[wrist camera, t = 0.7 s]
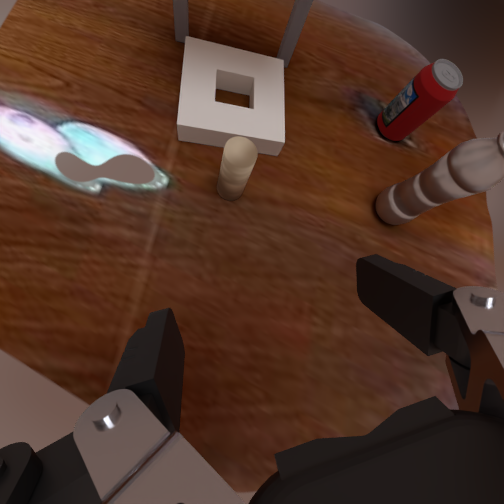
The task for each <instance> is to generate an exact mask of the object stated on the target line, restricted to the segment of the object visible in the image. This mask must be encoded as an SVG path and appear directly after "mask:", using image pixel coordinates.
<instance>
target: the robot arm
mask: <svg viewBox="0 0 504 504" xmlns="http://www.w3.org/2000/svg"><path fill="white" fill-rule="evenodd" d="M356 272H357V293H358V296H359V298H360V300H361V302H362V303H363V304H364V305H365V306H366V307H368V308H369V309H370V310H371V311H372V312H374V313H375V314H376V315H377V316H379V317H380V318H381V319H382V320H384V321H385V322H386V323H387V324H389V325H390V326H391V327H392V328H394V329H395V330H396V331H397V332H399V333H400V334H401V335H402V336H404V337H405V338H406V339H407V340H408V341H410V342H411V343H412V344H413V345H415V346H416V347H417V348H418V349H420V350H421V351H422V352H423V353H425V354H426V355H427V356H430V355H433V354H436V353H439V352H442V351H443V352H445V353H446V360H445V361H446V366H447V369H448V373H449V376H450V379H451V383H452V386H453V389H454V393H455V396H456V400H457V403H458V406H459V410H449V409H448V408H447V407H446V406H445V405H444V404H443V403H442V402H441V401H440V400H439V399H438V398H437V397H436V396H434V397H431V398H428V399H426V400H423V401H420V402H417V403H415V404H412V405H409V406H406V407H403V408H401V409H398V410H397V411H396V412H395V413H393V414H392V415H391V416H390V417H388V418H387V419H386V420H385V421H384V422H382V423H381V424H380V425H379V426H378V427H376V428H375V429H374V430H373V431H371V432H370V433H369V434H367V435H364V436H354V437H338V438H322V439H315V440H312V441H309V442H307V443H304V444H301V445H298V446H296V447H293V448H290V449H287V450H284V451H282V452H279V453H276V454H274V455H275V459H276V463H277V468H278V471H277V472H276V473H274V474H273V475H272V476H271V477H269V478H268V479H267V481H266V482H265V483H264V484H263V485H262V486H261V487H260V488H259V489H258V491H257V492H256V493H255V495H254V496H253V497H252V499H251V500H250V502H249V504H504V293H503V292H501V291H498V290H495V289H491V288H486V287H478V286H466V287H461V288H458V289H456V288H454V287H452V286H450V285H447V284H445V283H443V282H441V281H439V280H436V279H434V278H432V277H430V276H428V275H426V276H425V274H423V273H421V272H419V271H415V269H412V268H410V267H408V266H406V265H403V264H398V263H394V262H392V261H390V260H388V259H386V258H384V257H382V256H379V255H377V254H374V255H370V256H367V257H363V258H359V259H358V260H357V263H356ZM184 358H185V351H184V345H183V340H182V337H181V334H180V331H179V329H178V326H177V323H176V320H175V317H174V314H173V311H172V309H171V308H167V309H163V310H159V311H155V312H151V313H150V314H149V317H148V320H147V323H146V326H145V328H141V329H138V330H137V331H136V332H135V333H134V334H133V336H132V337H131V338H130V339H129V341H128V343H127V345H126V348H125V352H124V353H123V355H122V358H121V361H120V362H119V365H118V367H117V370H116V372H115V375H114V377H113V380H112V382H111V384H110V387H109V389H108V392H107V394H106V395H104V396H102V397H100V398H99V399H97V400H96V401H95V402H94V403H92V404H91V405H90V406H89V407H88V408H87V409H86V410H85V411H84V412H83V414H82V415H81V416H80V417H79V419H78V421H77V423H76V425H75V427H74V431H73V432H72V433H70V434H69V435H67V436H65V437H63V438H61V439H59V440H58V441H56V442H54V443H52V444H50V445H49V446H47V447H45V448H43V449H41V450H40V451H38V452H36V453H35V452H34V450H33V449H32V448H31V447H30V445H29V444H27V443H25V442H18V443H14V444H10V445H8V446H6V447H3V448H1V449H0V504H246V503H245V502H244V501H243V500H242V499H241V498H240V497H239V496H238V495H237V494H236V492H235V491H234V490H233V489H232V488H231V487H230V486H229V485H228V484H227V483H226V482H225V481H224V480H223V479H222V478H221V477H220V475H219V474H218V473H217V472H216V471H215V470H214V469H213V468H212V467H211V466H210V465H209V464H208V463H207V462H206V461H205V460H204V458H203V457H202V456H201V455H200V454H199V453H198V452H197V451H196V450H195V449H194V448H193V447H192V446H191V445H190V444H189V443H188V441H187V440H186V439H185V438H184V437H183V436H182V435H181V434H180V433H179V427H180V413H181V399H182V386H183V372H184Z"/></svg>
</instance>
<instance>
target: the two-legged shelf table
mask: <svg viewBox="0 0 504 504" xmlns="http://www.w3.org/2000/svg"><path fill="white" fill-rule="evenodd" d="M312 2H313V0H295V3H294V6H293V9H292V12H291V15H290V18H289V21H288V24H287V27H286V30H285V33H284V36H283V39H282V42H281V45H280V48H279V51H278V54H277V59H281V60H284V67H286V68H287V67H288V64H289V61H290V59H291V56H292V54H293V51H294V48H295V46H296V43H297V41H298V38H299V36H300V33H301V30H302V28H303V25H304V23H305V20H306V17H307V15H308V12H309V10H310V7H311V5H312ZM173 9H174V24H175V38H176V41H179V42H183V43H185V39H186V36H189V24H188V0H173Z"/></svg>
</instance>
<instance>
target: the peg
mask: <svg viewBox="0 0 504 504" xmlns="http://www.w3.org/2000/svg"><path fill="white" fill-rule="evenodd" d="M257 156H258V152H257V148H256V146H255V145H254V143H253V142H252V141H250V140H249V139H247V138H245V137H240V136H237V137H232V138H230V139H229V140H228V141H227V142H226V144H225V147H224V152H223V157H222V163H221V168H220V173H219V178H218V183H217V191H218V193H219V195H220V196H221V197H222V198H223V199H225V200H229V201H233V200H236V199H238V198H239V197H240V196H241V195H242V192H243V190H244V188H245V185H246V183H247V181H248V178H249V176H250V173H251V171H252V169H253V166H254V164H255V161H256V159H257Z"/></svg>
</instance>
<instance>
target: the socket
mask: <svg viewBox="0 0 504 504" xmlns="http://www.w3.org/2000/svg"><path fill="white" fill-rule="evenodd" d="M215 89H221V90H225V91H230V92H235V93H240V94H245V95H249V96H250V103H249V108H245V107H240V106H235V105H230V104H225V103H220V102H215ZM177 130H178V140H180V141H186V142H192V143H198V144H205V145H211V146H217V147H225V144H226V142H227V141H228V140H229V139H230V138H232V137H237V136H240V137H245V138H247V139H249V140H250V141H252V142H253V143H254V145H255V146H256V148H257V152H258V153H262V154H268V155H274V156H278V154H279V153H280V151H281V149H282V147H283V145H284V143H285V117H284V60H281V59H277V58H273V57H269V56H265V55H261V54H257V53H253V52H249V51H245V50H241V49H237V48H233V47H229V46H225V45H221V44H217V43H213V42H209V41H205V40H201V39H197V38H193V37H189V36H186V39H185V49H184V59H183V69H182V79H181V89H180V99H179V109H178V119H177Z"/></svg>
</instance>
